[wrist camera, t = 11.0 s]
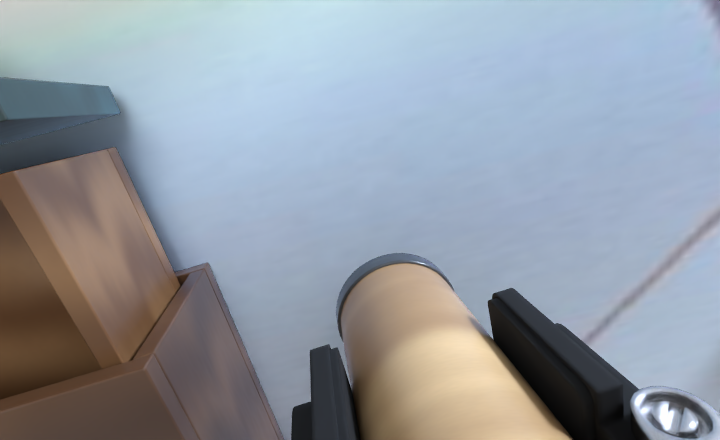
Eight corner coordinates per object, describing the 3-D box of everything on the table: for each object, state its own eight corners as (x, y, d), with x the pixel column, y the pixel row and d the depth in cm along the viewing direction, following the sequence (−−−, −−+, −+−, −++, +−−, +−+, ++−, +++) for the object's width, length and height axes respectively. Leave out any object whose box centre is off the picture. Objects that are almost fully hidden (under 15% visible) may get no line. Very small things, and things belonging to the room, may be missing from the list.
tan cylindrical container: (320, 275, 14) (359, 647, 4) (436, 236, 14) (714, 510, 5) (355, 371, 15) (440, 802, 6) (460, 334, 16) (705, 693, 6)
